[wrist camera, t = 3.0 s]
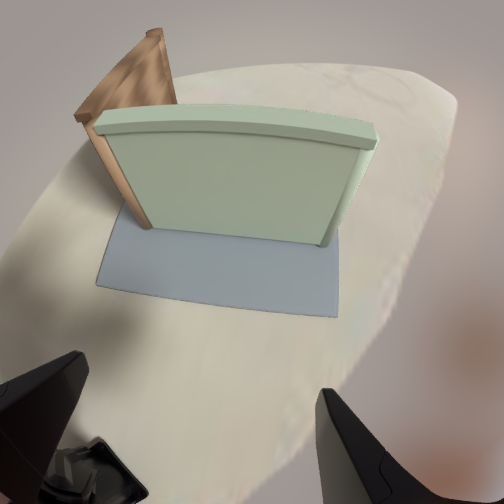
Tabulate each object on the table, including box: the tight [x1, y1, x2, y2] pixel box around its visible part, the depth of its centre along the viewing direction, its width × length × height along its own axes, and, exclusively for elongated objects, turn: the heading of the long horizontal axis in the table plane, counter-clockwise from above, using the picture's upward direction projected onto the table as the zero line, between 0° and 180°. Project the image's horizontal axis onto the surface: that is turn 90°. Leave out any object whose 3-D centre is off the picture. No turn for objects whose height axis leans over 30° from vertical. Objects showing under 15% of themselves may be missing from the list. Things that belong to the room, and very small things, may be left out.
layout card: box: [96, 200, 339, 318], centre depth 29 cm, size 23×22×1 cm
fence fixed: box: [74, 28, 177, 213], centre depth 25 cm, size 16×2×14 cm, turn 173°
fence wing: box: [85, 104, 380, 248], centre depth 20 cm, size 2×18×14 cm, turn 83°
